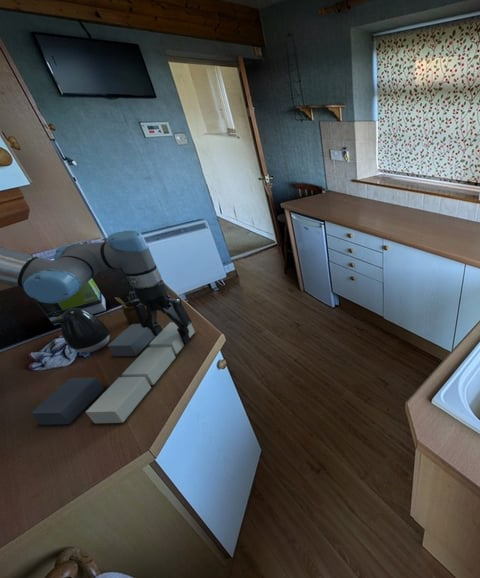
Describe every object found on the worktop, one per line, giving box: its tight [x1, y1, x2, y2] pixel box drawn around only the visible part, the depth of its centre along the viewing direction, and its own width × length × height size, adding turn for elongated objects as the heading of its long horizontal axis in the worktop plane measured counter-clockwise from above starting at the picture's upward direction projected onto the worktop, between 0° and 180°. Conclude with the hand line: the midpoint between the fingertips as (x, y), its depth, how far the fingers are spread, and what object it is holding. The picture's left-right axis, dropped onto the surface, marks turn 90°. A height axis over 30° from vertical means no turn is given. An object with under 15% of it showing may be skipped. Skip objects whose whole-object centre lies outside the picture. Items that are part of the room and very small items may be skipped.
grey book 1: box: [29, 377, 105, 426], centre depth 76 cm, size 7×11×4 cm, turn 2°
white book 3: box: [149, 321, 196, 355], centre depth 97 cm, size 7×11×4 cm, turn 2°
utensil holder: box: [114, 292, 140, 325], centre depth 107 cm, size 6×6×12 cm
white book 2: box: [121, 346, 176, 386], centre depth 87 cm, size 7×11×4 cm, turn 2°
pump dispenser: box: [50, 308, 111, 354], centre depth 93 cm, size 10×10×15 cm
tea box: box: [33, 278, 107, 326], centre depth 110 cm, size 15×10×15 cm, turn 130°
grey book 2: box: [107, 323, 156, 357], centre depth 97 cm, size 7×11×4 cm, turn 2°
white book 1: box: [85, 376, 152, 424], centre depth 77 cm, size 7×11×4 cm, turn 2°
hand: (175, 342), depth 98 cm, fingers closed on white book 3, 7 cm apart
